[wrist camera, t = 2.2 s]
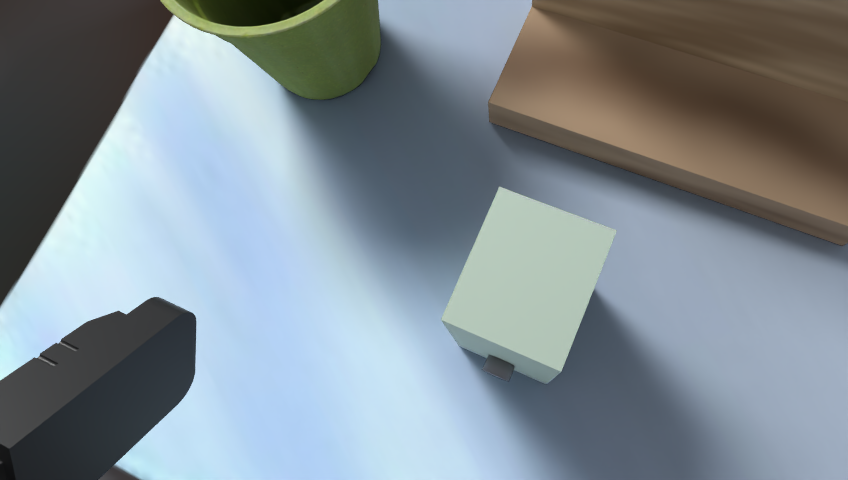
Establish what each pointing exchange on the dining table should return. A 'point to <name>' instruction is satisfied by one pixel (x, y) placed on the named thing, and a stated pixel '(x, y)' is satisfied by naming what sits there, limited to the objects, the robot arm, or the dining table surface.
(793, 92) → the wooden stand
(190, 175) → the dining table surface
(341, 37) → the plant pot
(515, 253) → the cabinet
